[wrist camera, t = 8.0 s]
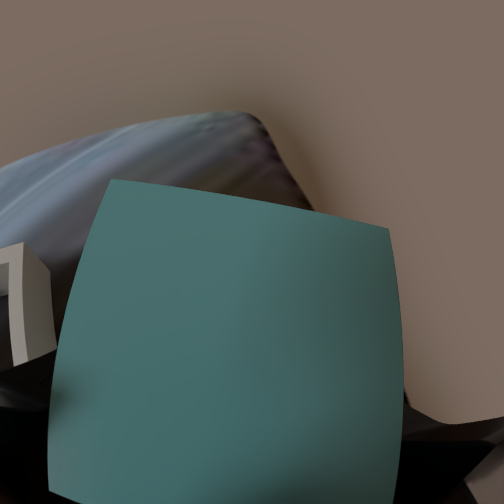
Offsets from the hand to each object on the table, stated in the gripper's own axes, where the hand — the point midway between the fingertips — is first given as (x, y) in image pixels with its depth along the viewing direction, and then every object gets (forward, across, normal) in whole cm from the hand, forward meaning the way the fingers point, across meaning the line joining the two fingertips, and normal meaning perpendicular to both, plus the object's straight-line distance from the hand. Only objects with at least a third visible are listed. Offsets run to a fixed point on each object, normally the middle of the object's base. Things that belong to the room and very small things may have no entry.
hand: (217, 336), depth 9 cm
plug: (+4, 0, +6) cm, 7 cm away
